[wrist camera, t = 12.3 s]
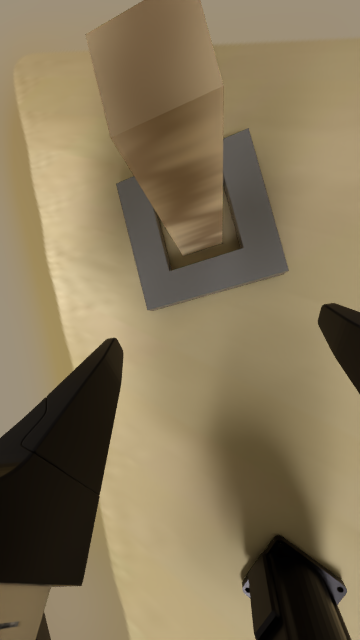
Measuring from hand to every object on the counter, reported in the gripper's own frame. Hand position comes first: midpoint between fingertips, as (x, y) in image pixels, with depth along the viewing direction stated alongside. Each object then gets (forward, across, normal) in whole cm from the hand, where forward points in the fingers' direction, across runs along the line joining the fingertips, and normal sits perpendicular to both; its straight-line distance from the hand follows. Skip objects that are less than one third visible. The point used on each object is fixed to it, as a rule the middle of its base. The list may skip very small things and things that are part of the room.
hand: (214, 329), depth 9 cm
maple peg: (+15, 0, 0) cm, 15 cm away
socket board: (+15, 0, 0) cm, 15 cm away
